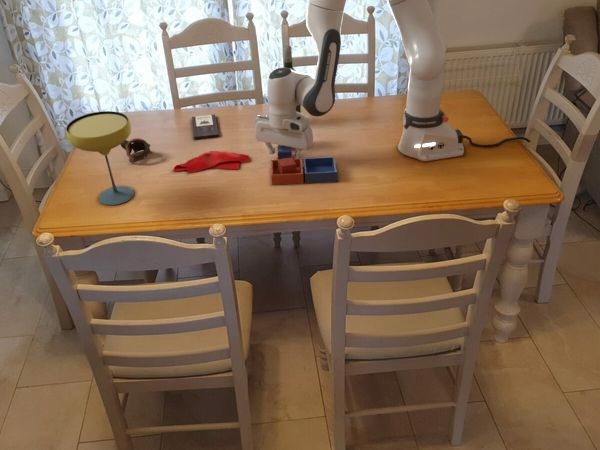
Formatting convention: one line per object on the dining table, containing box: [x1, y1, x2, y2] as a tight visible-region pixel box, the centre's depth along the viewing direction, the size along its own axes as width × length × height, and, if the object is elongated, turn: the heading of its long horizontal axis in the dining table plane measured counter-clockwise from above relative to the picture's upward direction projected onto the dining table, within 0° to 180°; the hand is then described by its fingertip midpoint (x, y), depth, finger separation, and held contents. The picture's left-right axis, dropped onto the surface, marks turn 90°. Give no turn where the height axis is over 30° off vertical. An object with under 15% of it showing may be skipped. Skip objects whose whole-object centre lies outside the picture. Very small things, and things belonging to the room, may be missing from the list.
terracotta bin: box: [270, 157, 305, 186], centre depth 184 cm, size 10×10×4 cm
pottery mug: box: [119, 137, 152, 165], centre depth 196 cm, size 12×10×8 cm
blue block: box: [276, 145, 293, 160], centre depth 191 cm, size 5×5×5 cm
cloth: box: [172, 150, 251, 174], centre depth 193 cm, size 26×14×2 cm, turn 94°
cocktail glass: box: [65, 110, 135, 206], centre depth 171 cm, size 18×18×25 cm
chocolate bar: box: [191, 114, 219, 140], centre depth 215 cm, size 9×1×18 cm
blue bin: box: [302, 156, 338, 184], centre depth 184 cm, size 10×10×4 cm
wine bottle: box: [283, 44, 302, 114], centre depth 208 cm, size 8×8×30 cm
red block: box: [277, 156, 296, 174], centre depth 183 cm, size 5×5×5 cm
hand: (284, 155), depth 192 cm, fingers open, 8 cm apart
